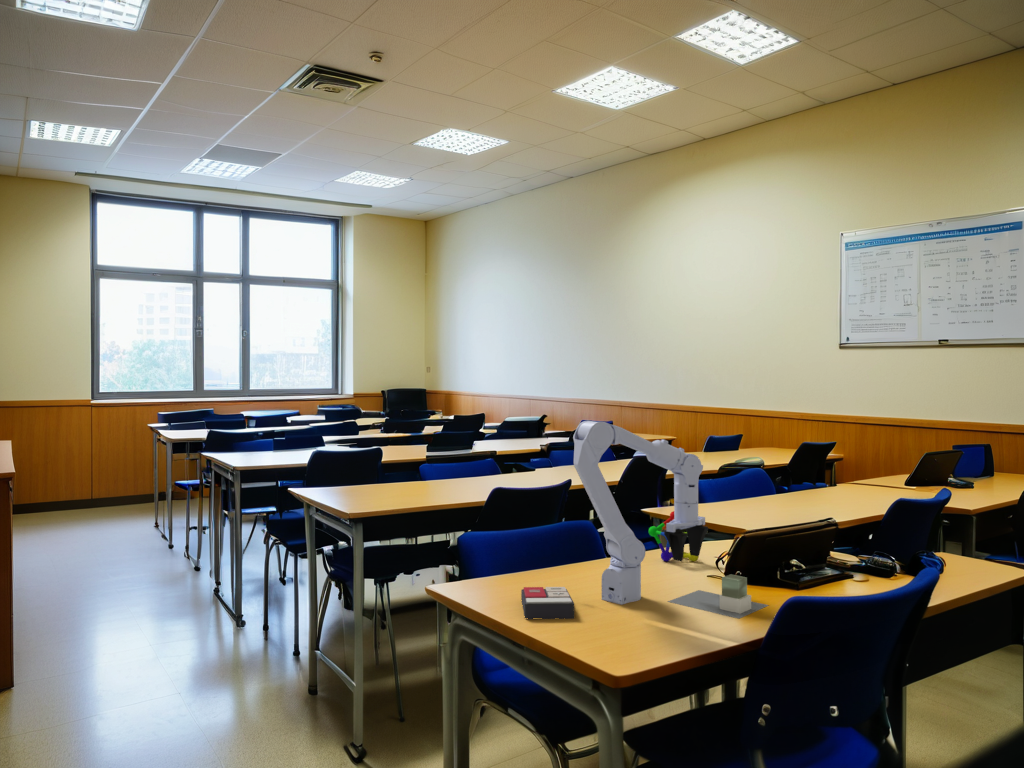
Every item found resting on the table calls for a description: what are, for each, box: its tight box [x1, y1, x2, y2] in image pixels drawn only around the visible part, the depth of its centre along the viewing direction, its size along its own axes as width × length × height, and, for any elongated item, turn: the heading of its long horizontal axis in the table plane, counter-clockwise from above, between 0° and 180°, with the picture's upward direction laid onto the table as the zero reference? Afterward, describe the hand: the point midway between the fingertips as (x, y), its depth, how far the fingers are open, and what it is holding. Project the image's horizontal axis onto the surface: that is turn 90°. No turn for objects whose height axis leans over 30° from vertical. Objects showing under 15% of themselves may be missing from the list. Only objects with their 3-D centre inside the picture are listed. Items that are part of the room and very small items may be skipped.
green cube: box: [721, 573, 748, 599], centre depth 160 cm, size 4×4×4 cm
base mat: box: [667, 589, 770, 620], centre depth 164 cm, size 14×18×1 cm
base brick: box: [719, 594, 752, 614], centre depth 160 cm, size 5×5×3 cm
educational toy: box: [648, 510, 700, 562], centre depth 212 cm, size 16×13×15 cm
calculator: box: [520, 586, 575, 620], centre depth 164 cm, size 11×4×15 cm
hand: (686, 557), depth 174 cm, fingers open, 7 cm apart
